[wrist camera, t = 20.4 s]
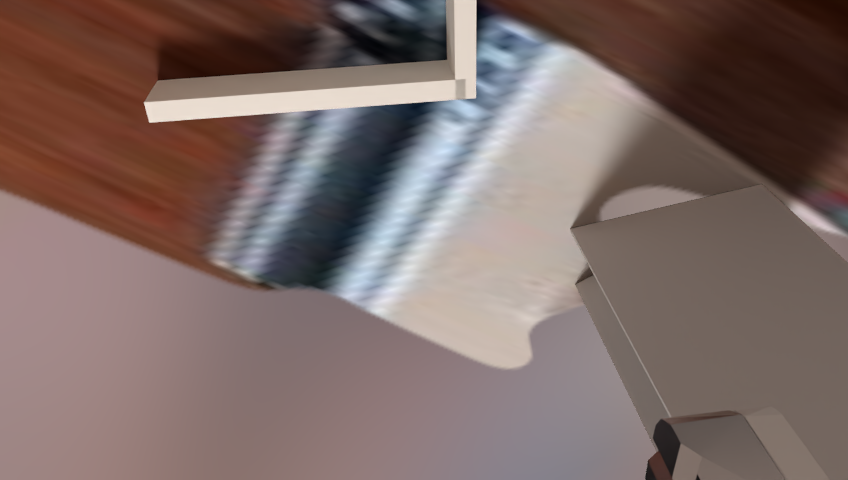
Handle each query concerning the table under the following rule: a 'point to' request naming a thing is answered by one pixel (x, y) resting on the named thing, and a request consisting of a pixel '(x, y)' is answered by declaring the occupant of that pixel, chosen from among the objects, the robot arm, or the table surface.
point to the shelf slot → (328, 83)
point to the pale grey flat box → (725, 314)
